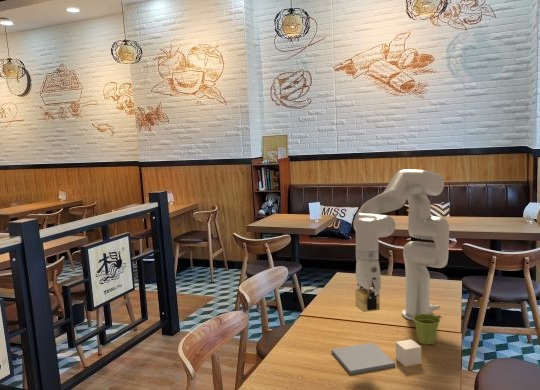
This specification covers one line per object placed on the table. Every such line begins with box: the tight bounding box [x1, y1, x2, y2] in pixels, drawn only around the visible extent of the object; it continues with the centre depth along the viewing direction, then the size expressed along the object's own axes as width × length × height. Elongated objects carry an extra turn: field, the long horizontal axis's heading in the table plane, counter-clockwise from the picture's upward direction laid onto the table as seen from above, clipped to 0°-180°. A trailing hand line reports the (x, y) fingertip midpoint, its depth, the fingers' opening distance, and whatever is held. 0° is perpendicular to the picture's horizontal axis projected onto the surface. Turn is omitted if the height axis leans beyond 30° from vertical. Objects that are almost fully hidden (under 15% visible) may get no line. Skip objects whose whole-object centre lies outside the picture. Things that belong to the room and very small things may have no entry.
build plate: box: [331, 342, 396, 375], centre depth 159 cm, size 16×16×1 cm
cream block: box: [395, 339, 422, 367], centre depth 156 cm, size 6×6×6 cm
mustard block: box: [354, 287, 381, 313], centre depth 158 cm, size 6×6×6 cm
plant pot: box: [412, 314, 441, 345], centre depth 170 cm, size 9×9×9 cm
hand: (367, 305), depth 158 cm, fingers closed on mustard block, 5 cm apart
